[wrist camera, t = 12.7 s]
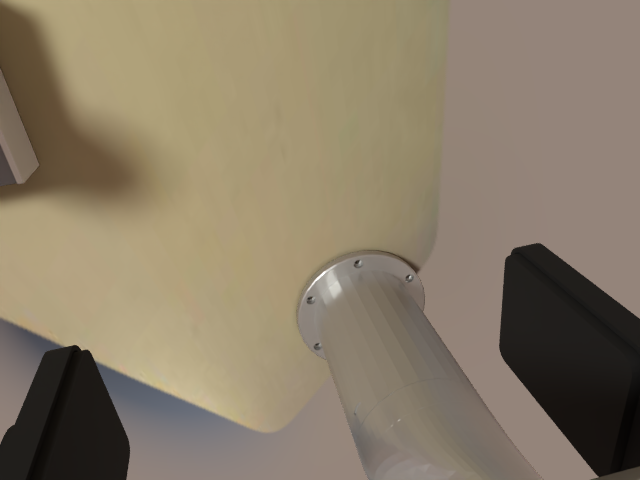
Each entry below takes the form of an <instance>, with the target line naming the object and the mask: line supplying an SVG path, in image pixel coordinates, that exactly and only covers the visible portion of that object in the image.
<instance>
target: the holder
mask: <svg viewBox="0 0 640 480" xmlns="http://www.w3.org/2000/svg"><path fill="white" fill-rule="evenodd" d="M38 166H39V163H38V160H37V158H36V155H35V153H34V150H33V148H32V145H31V143H30V140H29V138H28V135H27V133H26V131H25V128H24V126H23V123H22V121H21V118H20V116H19V113H18V111H17V108H16V106H15V103H14V101H13V98H12V96H11V93H10V91H9V88H8V86H7V84H6V81H5V79H4V76H3V74H2V71H1V69H0V186H4V185H9V184H15V183H17V184H22V183H25V181H26V180H27V179H28V178H29V177H30V176H31V175H32V173H33V172H34V171H35V170H36V169H37V168H38Z"/></svg>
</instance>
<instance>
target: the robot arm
mask: <svg viewBox="0 0 640 480" xmlns="http://www.w3.org/2000/svg"><path fill="white" fill-rule="evenodd" d="M424 303H425V295H424V288H423V286H422V283H421V280H420V279H419V277H418V276H417V274H416V273H415V271H414V270H413V269H412V268H411V267H410V265H409V264H408V263H407V262H405V261H404V260H402V259H401V258H399V257H397V256H395V255H392V254H390V253H387V252H381V251H359V252H353V253H350V254H347V255H344V256H341V257H339V258H337V259H335V260H333V261H331V262H329V263H328V264H326V265H325V266H324V267H322V268H321V269H320V270H319V271H317V272H316V273H315V275H314V276H313V277H312V278H311V279H310V280H309V281H308V283H307V284H306V286H305V288H304V289H303V291H302V293H301V296H300V298H299V301H298V306H297V324H298V327H299V331H300V334H301V336H302V339H303V341H304V342H305V344H306V345H307V346H308V348H309V349H310V350H311V351H313V352H314V353H315V354H316V355H317V356H319V357H321V358H323V359H325V360H327V363H328V366H329V369H330V371H331V374H332V377H333V380H334V383H335V386H336V389H337V392H338V395H339V398H340V401H341V404H342V407H343V410H344V413H345V416H346V419H347V422H348V425H349V427H350V430H351V433H352V436H353V439H354V442H355V445H356V448H357V451H358V455H359V458H360V460H361V463H362V466H363V469H364V471H365V473H366V475H367V478H368V479H369V480H543V479H542V477H540V475H539V474H538V473H537V472H536V471H535V469H534V468H533V467H532V466H531V465H530V464H529V462H528V461H527V460H526V459H525V458H524V456H523V455H522V454H521V453H520V451H519V450H518V449H517V448H516V446H515V445H514V444H513V442H512V441H511V440H510V439H509V437H508V436H507V434H506V433H505V432H504V430H503V429H502V427H501V426H500V425H499V423H498V422H497V420H496V419H495V418H494V416H493V415H492V413H491V412H490V411H489V409H488V407H487V406H486V404H485V403H484V402H483V400H482V399H481V397H480V396H479V394H478V393H477V391H476V390H475V389H474V387H473V385H472V384H471V383H470V381H469V379H468V378H467V376H466V375H465V374H464V372H463V371H462V369H461V368H460V366H459V365H458V363H457V362H456V360H455V359H454V358H453V356H452V355H451V353H450V351H449V350H448V349H447V347H446V346H445V344H444V343H443V342H442V340H441V338H440V337H439V335H438V334H437V332H436V331H435V329H434V328H433V327H432V325H431V323H430V322H429V321H428V319H427V318H426V316H425V315H424V313H423V310H424ZM499 348H500V352H501V355H502V357H503V359H504V361H505V362H506V364H507V365H508V366H509V367H510V368H511V370H512V371H513V372H514V373H515V375H516V376H517V377H518V378H519V380H520V381H521V382H522V383H523V385H524V386H525V387H526V388H527V389H528V391H529V392H530V393H531V394H532V396H533V397H534V398H535V399H536V401H537V402H538V403H539V404H540V406H541V407H542V408H543V409H544V411H545V412H546V413H547V414H548V416H549V417H550V418H551V419H552V420H553V422H554V423H555V424H556V425H557V427H558V428H559V429H560V430H561V432H562V433H563V434H564V435H565V436H566V438H567V439H568V440H569V441H570V443H571V444H572V445H573V446H574V448H575V449H576V450H577V451H578V453H579V454H580V455H581V456H582V458H583V459H584V460H585V461H586V463H587V464H588V465H589V466H590V467H591V469H592V470H593V471H594V472H595V473H596V475H597V476H599V477H598V478H595V479H591V480H640V319H639V318H638V317H636V316H635V315H634V314H633V313H631V312H630V311H629V310H627V309H626V308H625V307H623V306H622V305H621V304H620V303H618V302H617V301H615V300H614V299H613V298H612V297H610V296H609V295H608V294H606V293H605V292H604V291H602V290H601V289H600V288H598V287H597V286H596V285H594V284H593V283H592V282H591V281H589V280H588V279H587V278H585V277H584V276H583V275H581V274H580V273H579V272H577V271H576V270H575V269H574V268H572V267H571V266H570V265H568V264H567V263H566V262H564V261H563V260H562V259H561V258H559V257H558V256H557V255H555V254H554V253H553V252H551V251H550V250H549V249H547V248H546V247H545V246H543V245H542V244H539V243H536V244H531V245H526V246H522V247H517V248H515V249H513V250H512V252H511V255H510V256H508V257H507V258H506V260H505V270H504V285H503V300H502V314H501V329H500V344H499ZM129 457H130V446H129V441H128V438H127V435H126V433H125V430H124V428H123V426H122V423H121V421H120V419H119V416H118V414H117V412H116V410H115V407H114V405H113V403H112V400H111V398H110V396H109V393H108V391H107V389H106V386H105V384H104V382H103V380H102V377H101V375H100V373H99V370H98V368H97V366H96V363H95V361H94V359H93V356H92V354H91V353H90V351H89V350H83V351H81V349H80V348H79V347H78V346H77V345H73V346H68V347H64V348H59V349H55V350H50V351H47V352H45V354H44V356H43V358H42V360H41V363H40V365H39V368H38V370H37V372H36V375H35V377H34V379H33V382H32V384H31V387H30V389H29V392H28V394H27V396H26V399H25V401H24V403H23V406H22V408H21V411H20V413H19V415H18V418H17V420H16V423H15V425H13V426H11V427H10V428H9V429H8V430H7V432H6V433H5V435H4V437H3V439H2V442H1V444H0V480H126V477H127V470H128V464H129Z"/></svg>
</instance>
